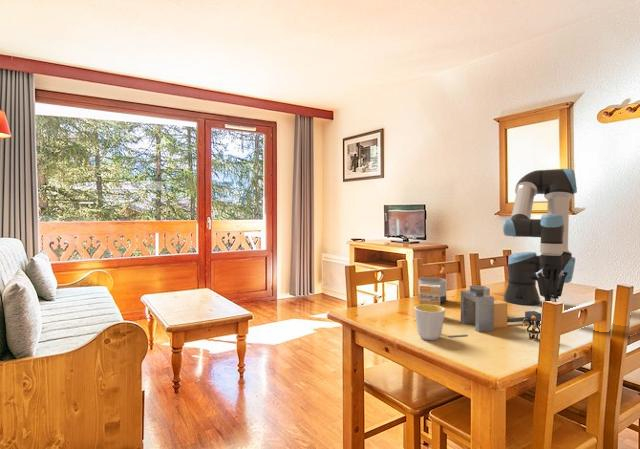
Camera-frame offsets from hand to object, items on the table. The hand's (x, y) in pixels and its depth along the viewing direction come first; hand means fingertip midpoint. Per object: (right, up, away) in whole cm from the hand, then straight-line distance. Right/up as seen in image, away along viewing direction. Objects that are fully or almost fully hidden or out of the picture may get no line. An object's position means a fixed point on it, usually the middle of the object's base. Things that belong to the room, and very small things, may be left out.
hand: (550, 314), depth 148 cm
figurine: (-17, -4, -19) cm, 26 cm away
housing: (-31, -3, -5) cm, 31 cm away
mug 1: (-51, -4, -15) cm, 54 cm away
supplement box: (-44, -3, +9) cm, 45 cm away
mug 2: (-21, -3, +15) cm, 26 cm away
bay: (-43, -4, -7) cm, 44 cm away
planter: (-36, -2, +35) cm, 50 cm away
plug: (-16, -3, -2) cm, 16 cm away
